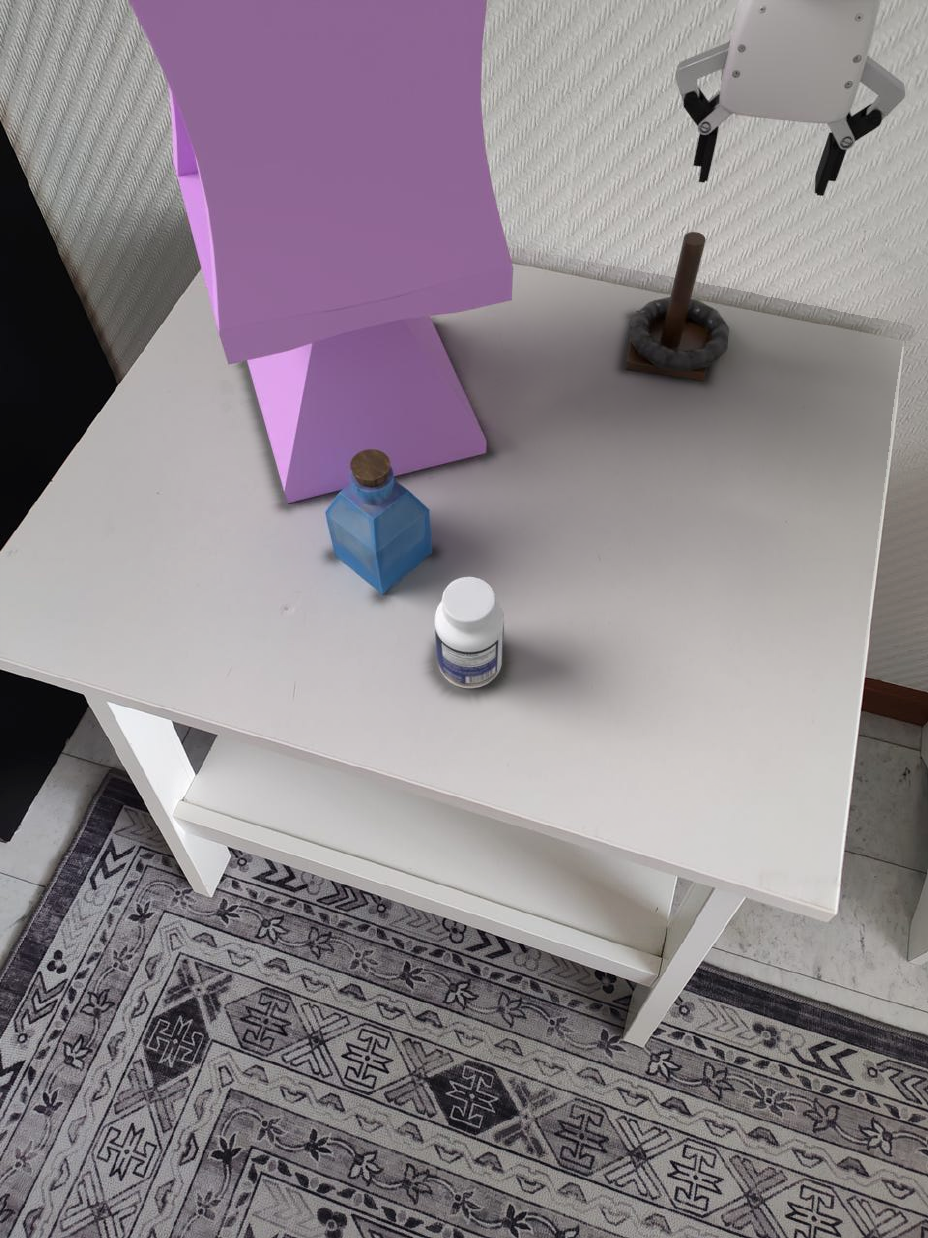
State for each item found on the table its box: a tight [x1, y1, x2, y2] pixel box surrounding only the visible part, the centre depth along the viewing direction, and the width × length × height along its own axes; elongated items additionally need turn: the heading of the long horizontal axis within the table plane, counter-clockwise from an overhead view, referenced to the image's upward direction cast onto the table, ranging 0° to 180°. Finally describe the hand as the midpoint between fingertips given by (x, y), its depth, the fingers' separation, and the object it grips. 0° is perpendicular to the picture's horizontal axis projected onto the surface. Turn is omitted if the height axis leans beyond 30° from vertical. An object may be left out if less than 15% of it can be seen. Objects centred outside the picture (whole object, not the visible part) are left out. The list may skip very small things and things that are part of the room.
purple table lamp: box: [127, 0, 514, 504], centre depth 70 cm, size 22×22×45 cm
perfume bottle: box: [324, 449, 433, 596], centre depth 74 cm, size 6×6×12 cm
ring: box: [628, 296, 730, 372], centre depth 91 cm, size 10×10×2 cm
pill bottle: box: [434, 576, 505, 689], centre depth 69 cm, size 5×5×10 cm
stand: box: [625, 231, 709, 381], centre depth 87 cm, size 8×8×13 cm
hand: (761, 179), depth 75 cm, fingers open, 9 cm apart
